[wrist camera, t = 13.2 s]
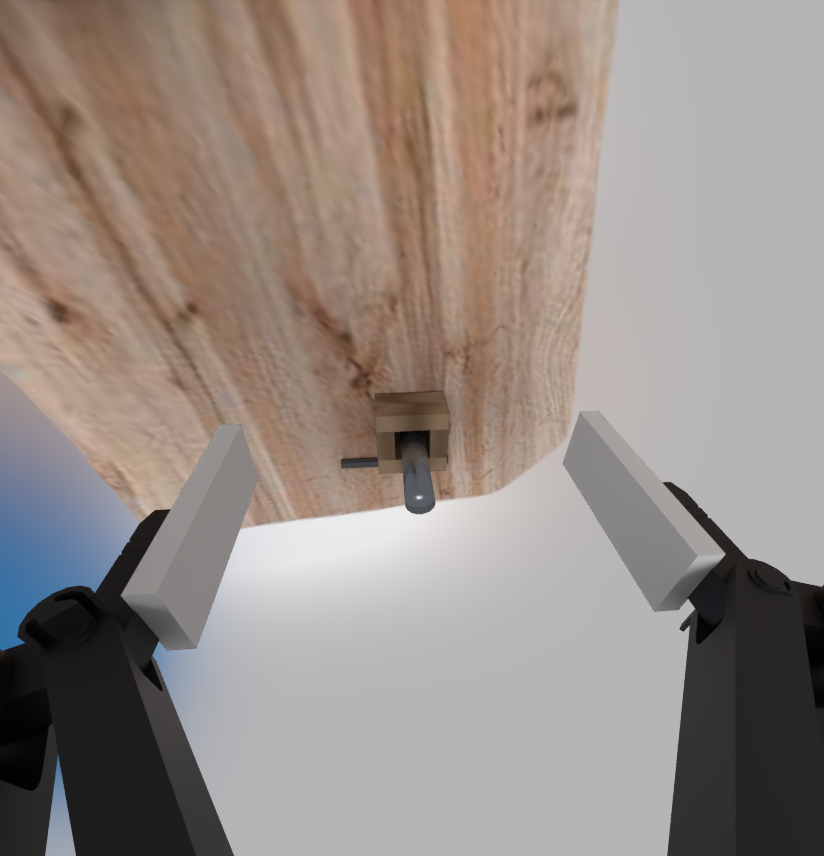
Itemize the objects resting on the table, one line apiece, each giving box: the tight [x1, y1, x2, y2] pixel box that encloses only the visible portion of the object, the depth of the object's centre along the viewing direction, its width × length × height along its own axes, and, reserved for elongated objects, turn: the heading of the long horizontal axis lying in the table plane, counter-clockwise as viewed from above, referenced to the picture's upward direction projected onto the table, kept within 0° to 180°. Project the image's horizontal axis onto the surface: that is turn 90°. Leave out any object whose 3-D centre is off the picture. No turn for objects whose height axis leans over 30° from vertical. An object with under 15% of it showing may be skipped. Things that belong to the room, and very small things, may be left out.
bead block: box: [375, 392, 450, 474], centre depth 44 cm, size 8×8×5 cm
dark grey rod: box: [341, 456, 448, 468], centre depth 49 cm, size 14×1×1 cm, turn 90°
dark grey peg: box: [399, 430, 435, 514], centre depth 40 cm, size 3×3×14 cm
